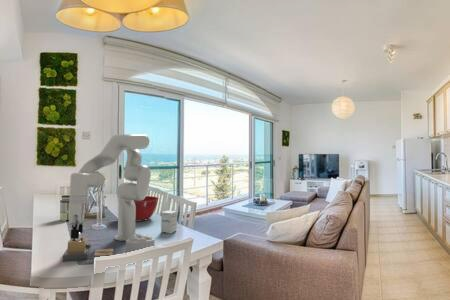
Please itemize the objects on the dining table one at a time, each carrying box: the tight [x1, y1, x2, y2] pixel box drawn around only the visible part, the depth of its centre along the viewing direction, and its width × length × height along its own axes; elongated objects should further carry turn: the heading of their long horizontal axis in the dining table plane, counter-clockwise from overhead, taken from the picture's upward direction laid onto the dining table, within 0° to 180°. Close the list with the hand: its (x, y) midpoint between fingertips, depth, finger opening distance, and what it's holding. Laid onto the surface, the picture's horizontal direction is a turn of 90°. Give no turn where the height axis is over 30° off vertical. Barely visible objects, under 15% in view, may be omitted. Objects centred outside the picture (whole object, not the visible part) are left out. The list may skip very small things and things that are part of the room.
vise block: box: [62, 232, 92, 263], centre depth 139 cm, size 12×10×11 cm
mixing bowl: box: [134, 195, 159, 221], centre depth 217 cm, size 28×28×16 cm
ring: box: [67, 236, 88, 253], centre depth 139 cm, size 7×7×5 cm
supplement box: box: [160, 209, 178, 234], centre depth 185 cm, size 7×7×13 cm
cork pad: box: [93, 248, 114, 258], centre depth 144 cm, size 8×8×1 cm
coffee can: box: [59, 198, 71, 222], centre depth 213 cm, size 10×10×14 cm
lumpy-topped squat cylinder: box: [125, 233, 155, 254], centre depth 144 cm, size 10×13×9 cm
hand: (76, 235), depth 138 cm, fingers open, 9 cm apart
